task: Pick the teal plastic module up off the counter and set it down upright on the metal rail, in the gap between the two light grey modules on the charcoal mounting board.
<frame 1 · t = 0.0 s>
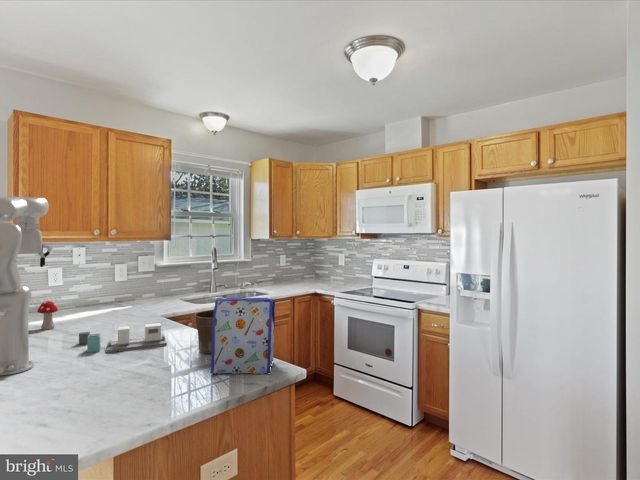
hand: (28, 267, 158), 37 cm above the counter, tool pointing down, fingers open, 9 cm apart
teal module: (94, 350, 161), on the counter
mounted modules: (139, 333, 169), point 5 cm above the counter
metal rail: (137, 340, 169), on the mounting board, point 2 cm above the counter
decorative mushroom: (48, 329, 199), on the counter
plant pot: (214, 350, 161), on the counter
lunch bag: (244, 368, 139), on the counter
mounting board: (137, 345, 169), on the counter
grey rectangular block: (84, 343, 171), on the counter
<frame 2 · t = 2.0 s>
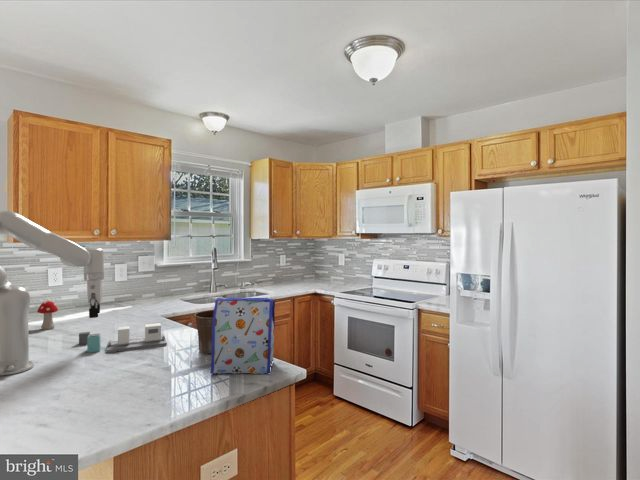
hand: (94, 315, 161), 15 cm above the counter, tool pointing down, fingers open, 9 cm apart
nothing on the counter moved.
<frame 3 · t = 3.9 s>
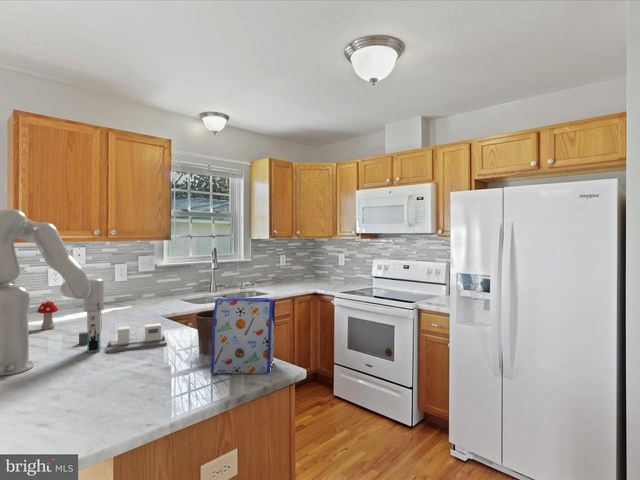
hand: (94, 347, 161), 1 cm above the counter, tool pointing down, fingers closed on teal module, 5 cm apart
teal module: (94, 350, 161), on the counter, touching gripper
everything else where it was.
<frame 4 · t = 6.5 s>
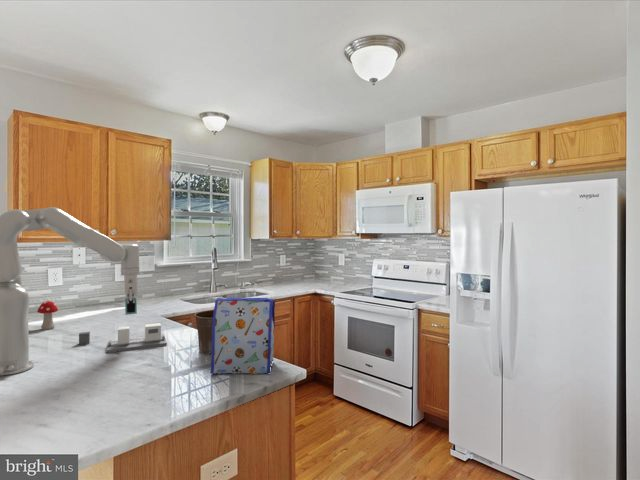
hand: (131, 310, 168), 16 cm above the counter, tool pointing down, fingers closed on teal module, 5 cm apart
teal module: (131, 313, 168), point 15 cm above the counter, touching gripper
everything else where it was.
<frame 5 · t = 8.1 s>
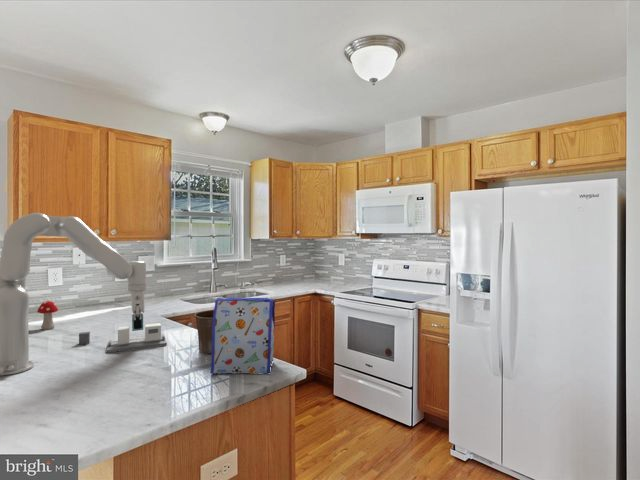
hand: (137, 326, 169), 8 cm above the counter, tool pointing down, fingers closed on teal module, 5 cm apart
teal module: (137, 329, 169), point 7 cm above the counter, touching gripper
everything else where it was.
when the fingers open (5 cm above the counter, at t = 9.3 s): teal module drops 1 cm, resting on metal rail.
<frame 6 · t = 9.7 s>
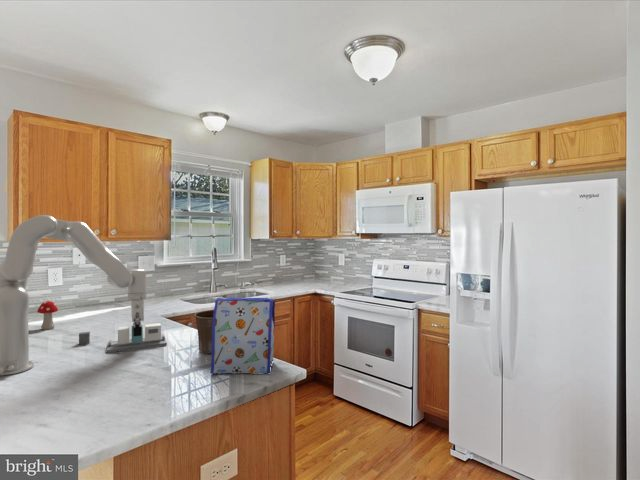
hand: (137, 333, 169), 5 cm above the counter, tool pointing down, fingers open, 9 cm apart
teal module: (137, 340, 169), point 2 cm above the counter, touching metal rail
everything else where it was.
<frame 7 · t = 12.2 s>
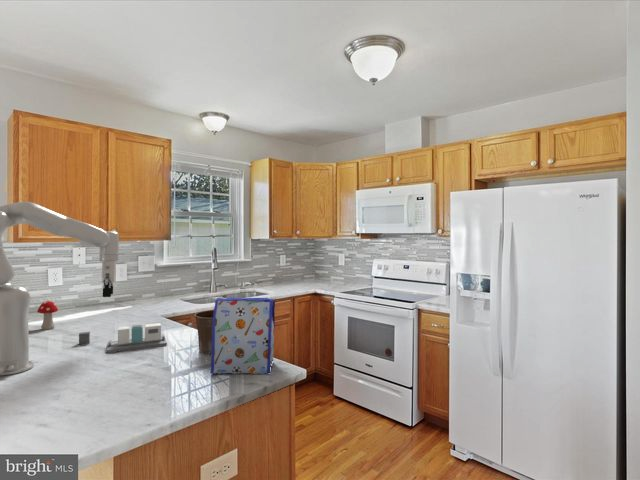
hand: (107, 295, 168), 23 cm above the counter, tool pointing down, fingers open, 9 cm apart
nothing on the counter moved.
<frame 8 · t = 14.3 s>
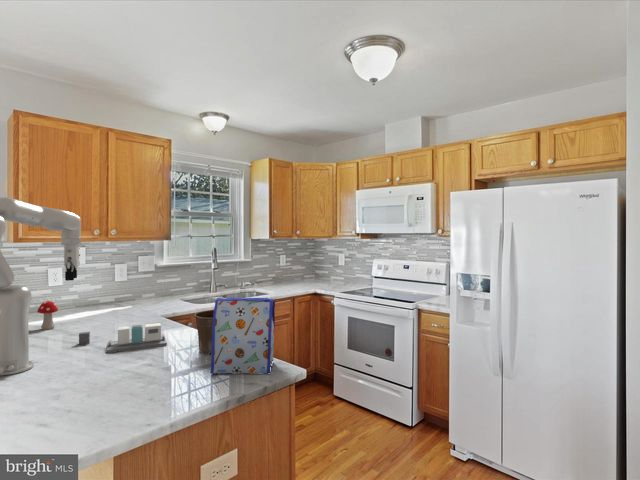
hand: (71, 279, 169), 30 cm above the counter, tool pointing down, fingers open, 9 cm apart
nothing on the counter moved.
at the end: teal module 0.1 cm off-centre on the mounting board, point 2.0 cm above the mounting board's base; teal module tilted 0°; the gripper is holding nothing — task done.
